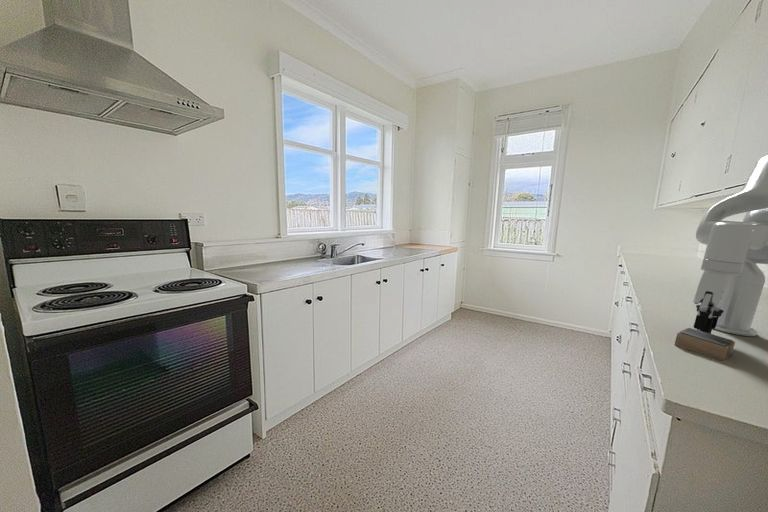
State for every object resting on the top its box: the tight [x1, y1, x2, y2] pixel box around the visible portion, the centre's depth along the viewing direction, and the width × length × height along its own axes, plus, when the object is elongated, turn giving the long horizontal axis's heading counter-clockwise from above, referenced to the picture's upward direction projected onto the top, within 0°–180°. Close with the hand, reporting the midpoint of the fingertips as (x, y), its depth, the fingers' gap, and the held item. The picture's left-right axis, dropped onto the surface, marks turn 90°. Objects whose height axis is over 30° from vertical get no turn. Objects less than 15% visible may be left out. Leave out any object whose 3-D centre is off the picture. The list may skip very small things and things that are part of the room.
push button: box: [695, 304, 724, 334], centre depth 85 cm, size 7×5×10 cm
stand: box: [674, 327, 736, 362], centre depth 78 cm, size 8×9×4 cm
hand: (704, 327), depth 85 cm, fingers closed on push button, 4 cm apart
